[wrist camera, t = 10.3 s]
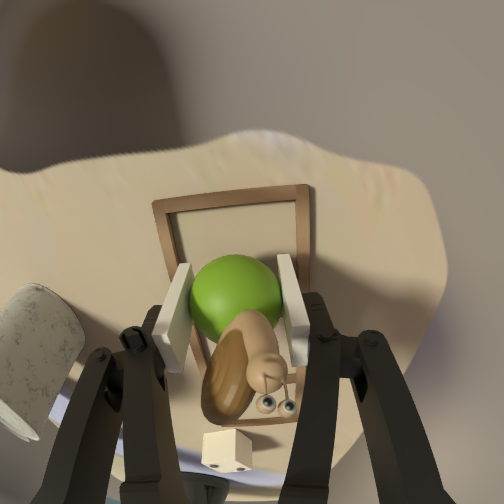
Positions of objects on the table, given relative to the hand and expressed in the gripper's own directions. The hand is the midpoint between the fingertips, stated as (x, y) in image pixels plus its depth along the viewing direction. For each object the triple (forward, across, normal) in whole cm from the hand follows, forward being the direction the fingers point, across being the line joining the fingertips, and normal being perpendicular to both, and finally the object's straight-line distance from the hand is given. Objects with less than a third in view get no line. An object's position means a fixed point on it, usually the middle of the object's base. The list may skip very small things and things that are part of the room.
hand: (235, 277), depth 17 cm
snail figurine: (+1, 0, 0) cm, 1 cm away
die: (+2, +5, +28) cm, 29 cm away
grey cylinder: (+2, +21, +5) cm, 22 cm away
